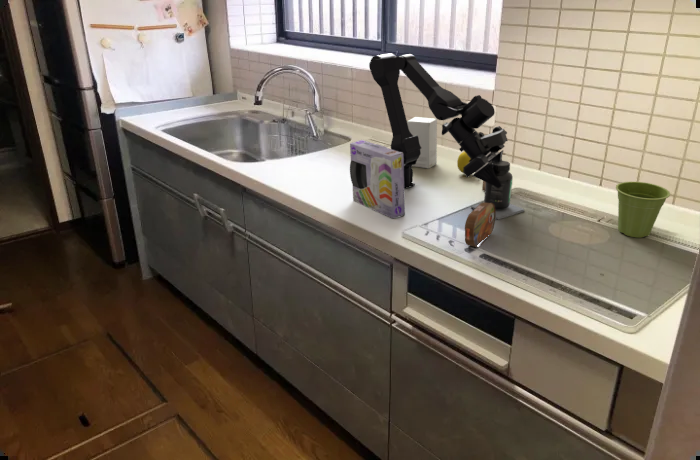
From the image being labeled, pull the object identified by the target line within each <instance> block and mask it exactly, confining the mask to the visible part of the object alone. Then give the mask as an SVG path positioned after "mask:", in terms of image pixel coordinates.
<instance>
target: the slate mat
mask: <svg viewBox="0 0 700 460" xmlns="http://www.w3.org/2000/svg"><path fill="white" fill-rule="evenodd" d="M481 203H482V202H480V203H476V204H473V205H471V206H470V209H472V208H473V209H472V210H474V209H475V208H476V207H477V206H478V205H479V204H481ZM495 211H496V216H495V218H496V219H495V220H497V219H498V220H501V219H504V218H508V217H510V216H513V215H517V214H520V213H523V212H525V208H522V207H520V206H517V205H515V204H513V203H510V205H509V207H507V208H505V209H495Z"/></svg>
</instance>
